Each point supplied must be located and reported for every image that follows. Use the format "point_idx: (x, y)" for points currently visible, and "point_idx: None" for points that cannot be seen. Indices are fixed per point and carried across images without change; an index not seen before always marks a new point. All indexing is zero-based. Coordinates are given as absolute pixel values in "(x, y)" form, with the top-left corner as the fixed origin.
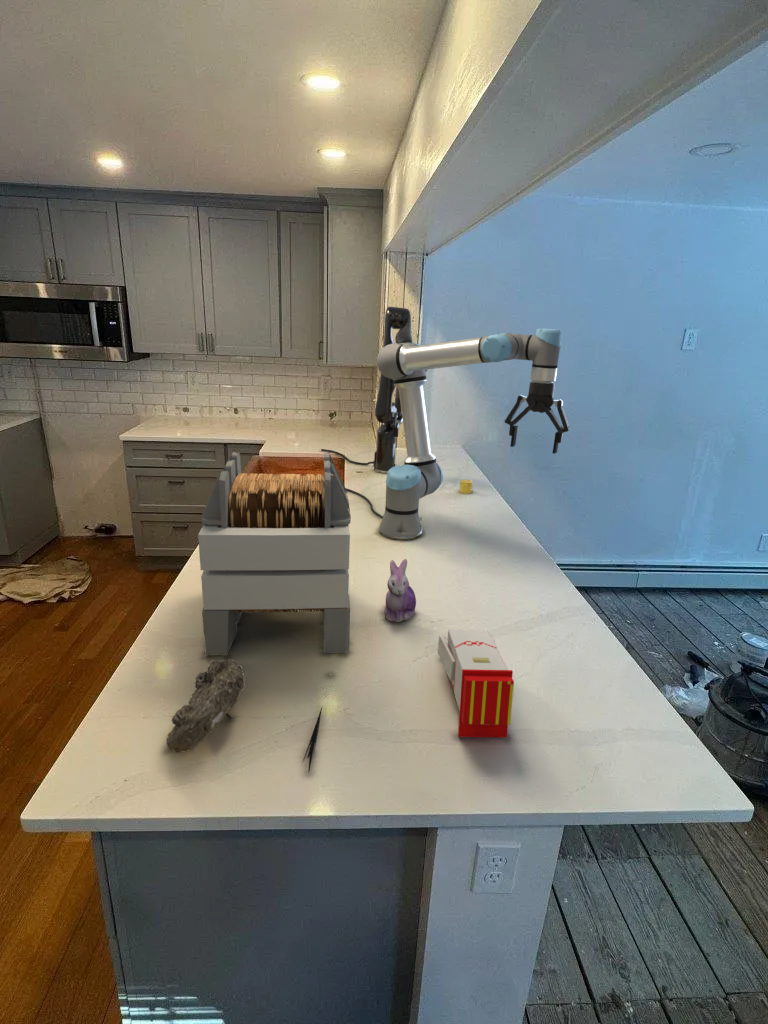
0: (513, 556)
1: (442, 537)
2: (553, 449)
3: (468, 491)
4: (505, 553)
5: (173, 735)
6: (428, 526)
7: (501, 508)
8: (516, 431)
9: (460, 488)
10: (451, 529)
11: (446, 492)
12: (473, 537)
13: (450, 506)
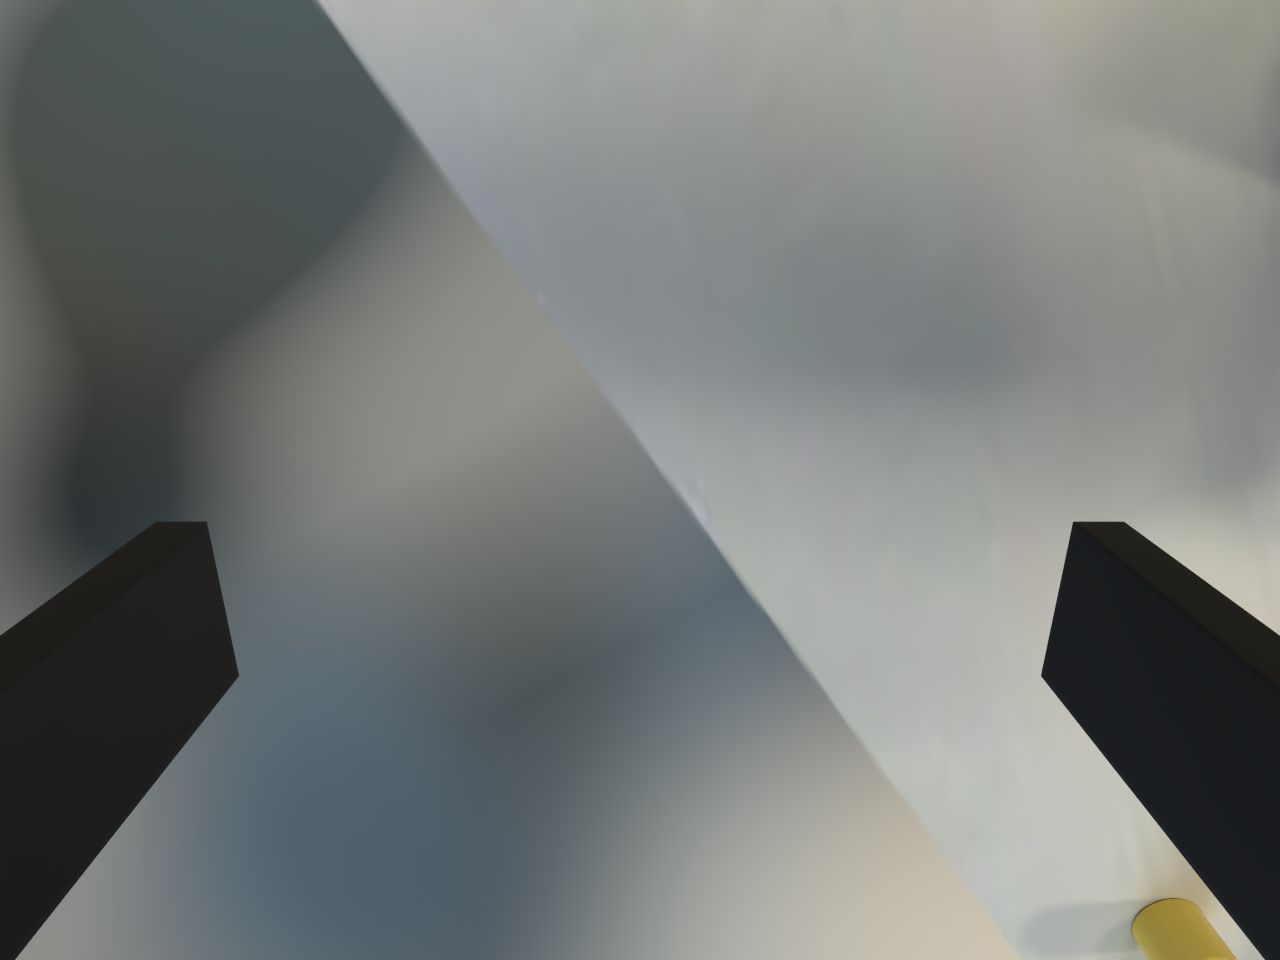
0: (632, 128)
1: (1135, 147)
2: (147, 557)
3: (1153, 919)
4: (690, 145)
5: None
6: (1269, 278)
7: (912, 804)
8: (1263, 892)
9: (1210, 924)
10: (1111, 322)
11: None
12: (945, 278)
13: None
